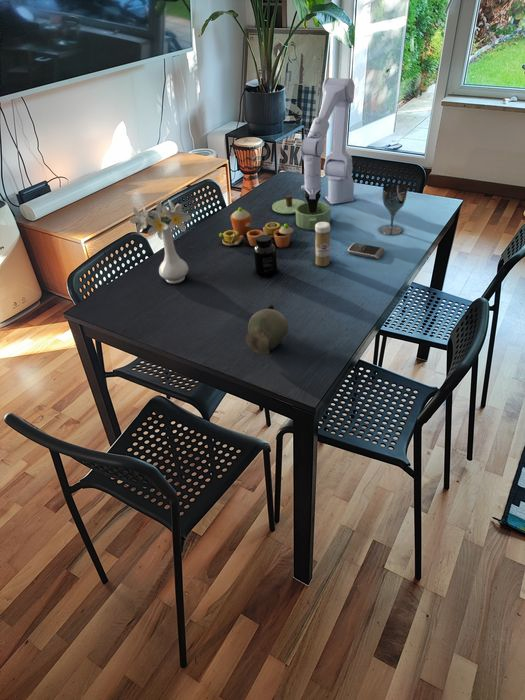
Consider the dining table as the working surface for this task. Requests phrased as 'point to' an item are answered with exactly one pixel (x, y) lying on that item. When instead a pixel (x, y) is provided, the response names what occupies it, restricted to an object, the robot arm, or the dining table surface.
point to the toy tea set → (243, 225)
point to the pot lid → (287, 205)
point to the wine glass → (393, 204)
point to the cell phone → (366, 250)
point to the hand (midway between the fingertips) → (312, 210)
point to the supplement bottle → (265, 256)
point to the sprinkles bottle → (322, 243)
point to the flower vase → (165, 237)
